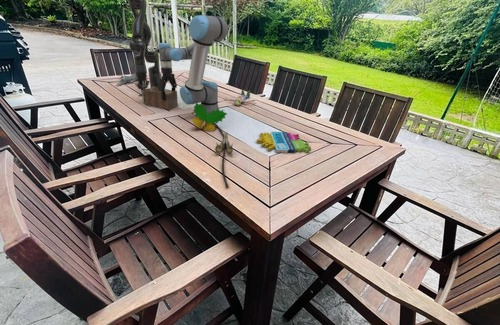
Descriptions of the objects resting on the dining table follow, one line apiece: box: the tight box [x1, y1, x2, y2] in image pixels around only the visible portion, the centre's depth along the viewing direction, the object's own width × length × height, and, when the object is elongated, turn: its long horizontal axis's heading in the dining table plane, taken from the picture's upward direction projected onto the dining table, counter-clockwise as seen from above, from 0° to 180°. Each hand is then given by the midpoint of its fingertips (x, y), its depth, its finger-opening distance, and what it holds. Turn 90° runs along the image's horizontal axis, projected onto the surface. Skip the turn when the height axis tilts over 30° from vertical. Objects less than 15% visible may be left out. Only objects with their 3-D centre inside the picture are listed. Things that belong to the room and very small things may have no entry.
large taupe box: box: [144, 87, 179, 111], centre depth 196 cm, size 21×11×12 cm, turn 69°
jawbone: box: [214, 131, 234, 156], centre depth 136 cm, size 9×15×10 cm
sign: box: [256, 131, 312, 154], centre depth 152 cm, size 26×2×30 cm
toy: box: [223, 89, 257, 106], centre depth 219 cm, size 28×7×30 cm
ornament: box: [191, 102, 228, 132], centre depth 162 cm, size 21×8×15 cm, turn 105°
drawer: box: [138, 87, 150, 104], centre depth 197 cm, size 25×10×10 cm, turn 69°
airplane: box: [114, 72, 148, 87], centre depth 254 cm, size 38×31×10 cm
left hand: (143, 94), depth 200 cm, fingers closed
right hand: (169, 98), depth 193 cm, fingers closed on large taupe box, 11 cm apart
